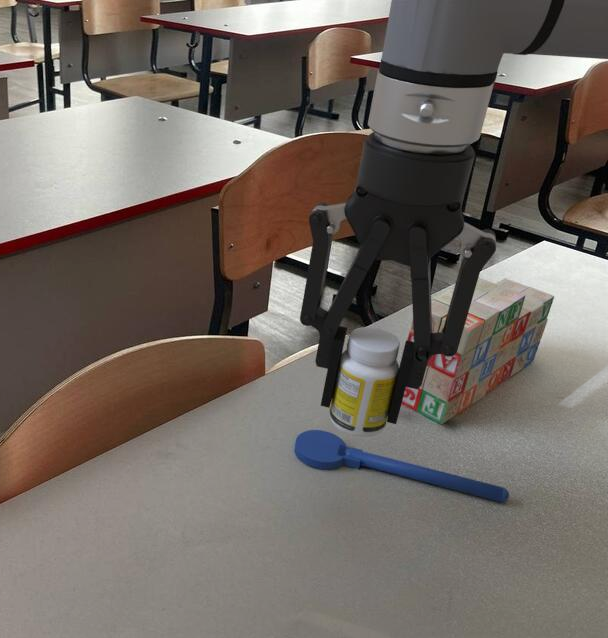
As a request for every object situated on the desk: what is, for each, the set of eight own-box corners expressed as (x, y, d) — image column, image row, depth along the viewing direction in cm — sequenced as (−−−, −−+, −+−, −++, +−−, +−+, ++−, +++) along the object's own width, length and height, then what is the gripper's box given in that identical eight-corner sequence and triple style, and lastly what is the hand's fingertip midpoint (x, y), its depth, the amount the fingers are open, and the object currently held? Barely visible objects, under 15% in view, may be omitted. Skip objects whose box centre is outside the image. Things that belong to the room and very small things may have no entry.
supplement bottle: (384, 411, 67) (404, 329, 63) (385, 443, 63) (407, 358, 59) (329, 401, 68) (346, 320, 64) (326, 432, 64) (344, 348, 60)
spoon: (506, 485, 74) (510, 474, 74) (507, 520, 70) (512, 508, 69) (299, 432, 81) (301, 421, 80) (289, 461, 76) (291, 450, 76)
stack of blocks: (486, 341, 98) (513, 254, 92) (534, 362, 94) (565, 273, 88) (391, 399, 86) (415, 304, 80) (441, 426, 82) (470, 328, 76)
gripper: (284, 134, 53) (247, 403, 65) (565, 172, 48) (470, 460, 59) (304, 110, 59) (267, 360, 71) (555, 142, 54) (471, 408, 65)
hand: (359, 405), depth 65 cm, fingers closed on supplement bottle, 5 cm apart
